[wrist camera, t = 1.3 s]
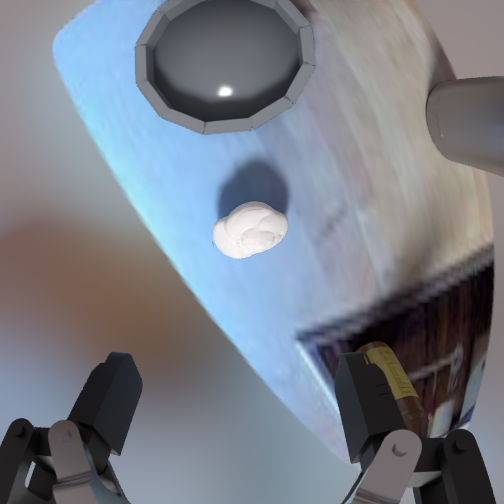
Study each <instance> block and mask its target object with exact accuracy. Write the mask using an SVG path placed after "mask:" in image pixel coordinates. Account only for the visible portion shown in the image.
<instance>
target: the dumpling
mask: <svg viewBox="0 0 504 504" xmlns="http://www.w3.org/2000/svg"><path fill="white" fill-rule="evenodd" d="M287 229H288V219H287V217H286V216H285V215H284V214H282V213H280V212H278V211H276V210H274V209H273V208H272V207H271V206H269V205H267V204H265V203H263V202H258V201H252V202H247V203H244V204H241V205H239V206H238V207H236V208H235V209H234V210H233V211H232V212H231V213H230V214H229V215H228V216H225V217H222V218H221V219H219V220H218V221H217V222H216V223H215V225H214V228H213V238H214V241H215V243H216V245H217V247H218V248H219V249H220V250H221V251H222V252H223V253H224V254H226V255H227V256H230V257H233V258H238V259H240V258H244V257H249V256H251V255H253V254H255V253H258V252H259V253H260V252H263V251H264V250H267V249H269V248H272V247H273V246H275V245H276V244H277V243H279V241H280V240H282V238H283V237H284V235H285V234H286V232H287ZM212 243H213V242H212ZM213 246H214V243H213ZM239 269H240V268H239Z"/></svg>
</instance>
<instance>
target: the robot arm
mask: <svg viewBox="0 0 504 504" xmlns="http://www.w3.org/2000/svg"><path fill="white" fill-rule="evenodd" d="M426 116H427V124H428V128H429V132H430V135H431V137H432V140H433V142H434V144H435V145H436V147H437V148H438V150H439V151H440V152H441V153H442V154H443V155H444V156H445V157H446V158H448V159H449V160H451V161H454V162H457V163H461V164H464V165H468V166H471V167H474V168H477V169H480V170H484V171H487V172H490V173H493V174H496V175H499V176H502V177H504V76H493V77H481V78H480V77H479V78H468V79H459V80H451V81H445V82H442V83H440V84H438V85H437V86H435V88H434V89H433V90H432V91H431V94H430V96H429V98H428V103H427V113H426ZM141 392H142V379H141V377H140V374H139V372H138V370H137V367H136V365H135V363H134V361H133V358H132V356H131V355H130V354H128V353H119V352H111V353H110V354H109V356H108V358H107V360H106V361H105V363H100V364H99V365H98V366H97V367H96V368H95V369H94V370H93V371H92V372H91V374H90V376H89V378H88V380H87V382H86V383H85V385H84V387H83V390H82V391H81V393H80V395H79V397H78V399H77V401H76V403H75V405H74V407H73V409H72V411H71V413H70V415H69V417H68V418H67V420H60V421H58V422H56V423H54V424H53V425H52V427H51V428H41V427H34V426H33V425H32V424H31V423H30V422H29V421H28V420H26V419H24V418H20V419H16V420H15V421H13V422H12V423H11V425H10V426H9V429H8V430H7V433H6V435H5V437H4V439H3V441H2V444H1V446H0V504H131V503H130V502H129V501H128V499H127V498H126V496H125V494H124V492H123V490H122V488H121V486H120V484H119V481H118V479H117V477H116V475H115V473H114V470H113V468H112V465H111V463H110V461H109V460H108V458H109V455H110V453H111V454H114V455H118V456H120V455H121V451H122V448H123V445H124V442H125V439H126V436H127V433H128V430H129V427H130V424H131V421H132V418H133V415H134V412H135V409H136V407H137V404H138V401H139V398H140V395H141ZM335 394H336V399H337V403H338V407H339V411H340V416H341V420H342V424H343V429H344V433H345V438H346V442H347V447H348V452H349V456H350V461H351V464H353V463H358V462H360V464H361V469H362V470H361V471H360V473H359V475H358V477H357V478H356V480H355V481H354V483H353V485H352V486H351V488H350V489H349V491H348V493H347V494H346V496H345V497H344V499H343V500H342V502H341V503H340V504H399V503H400V500H401V498H402V496H403V494H404V492H405V490H406V487H413V492H414V497H415V502H416V504H496V501H495V497H494V494H493V490H492V487H491V483H490V480H489V476H488V473H487V470H486V467H485V464H484V461H483V458H482V456H481V453H480V450H479V447H478V445H477V442H476V440H475V437H474V436H473V434H472V433H471V432H469V431H467V430H465V429H456V430H453V431H451V432H450V433H449V434H448V435H447V436H446V437H445V438H421V437H418V436H417V435H416V434H415V433H413V432H412V431H409V430H408V429H407V427H406V425H405V423H404V420H403V417H402V415H401V412H400V410H399V407H398V405H397V402H396V400H395V397H394V395H393V394H392V390H391V387H390V385H389V384H388V380H387V378H386V375H385V373H384V371H383V370H382V369H381V368H380V367H379V366H377V365H376V364H375V363H371V364H367V362H366V360H365V357H364V355H363V353H362V352H361V351H359V352H351V353H342V354H341V356H340V360H339V364H338V369H337V373H336V377H335ZM32 461H33V462H34V463H35V464H36V465H35V468H34V471H33V473H32V476H31V480H30V482H29V486H28V488H26V486H25V480H26V477H27V474H28V471H29V468H30V465H31V463H32Z"/></svg>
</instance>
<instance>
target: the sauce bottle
mask: <svg viewBox="0 0 504 504" xmlns="http://www.w3.org/2000/svg"><path fill="white" fill-rule="evenodd" d="M359 351H361V352H362V353H363V355H364V357H365V360H366V362H367V364H371V363H375V364H376V365H377V366H379V367H380V368H381V369H382V370H383V371H384V373H385V375H386V378H387V380H388V384H389V385H390V387H391V390H392V394H393V395H394V397H395V400H396V402H397V405H398V407H399V410H400V412H401V415H402V417H403V420H404V423H405V425H406V427H407V429H408V430H409V431H412V432H413V433H415V434H416V435H417V436H418V437H421V438H426V437H427V430H428V422H429V419H428V416H427V414H426V412H425V410H424V408H423V407H422V405H421V403H420V399H419V397H418V395H417V393H416V391H415V390H414V388H413V386H412V384H411V382H410V381H409V379H408V377H407V375H406V373H405V372H404V370H403V368H402V366H401V365H400V363H399V361H398V359H397V358H396V356H395V354H394V352H393V351H392V350H391V349H390V347H389V346H388V345H387V344H385V343H383V342H380V341H374V342H371V343H368V344H365V345H363V346H362V347H360V348H359V349H358V350H356V351H355V352H359ZM406 488H407V487H406Z"/></svg>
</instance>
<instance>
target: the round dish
mask: <svg viewBox="0 0 504 504" xmlns="http://www.w3.org/2000/svg"><path fill="white" fill-rule="evenodd" d="M157 9H158V10H159V11H158V10H155V12H154V13H153V15H152V16H151V18H150V20H149V21H148V23H147V25H146V26H145V28H144V30H143V31H142V33H141V35H140V37H139V38H138V40H137V42H136V45H137V46H135V77H136V84H138V85H137V87H138V88H139V90H140V91H141V93H142V94H143V95H144V97H145V98H146V99H147V101H148V102H149V103H150V105H151V106H152V107H153V109H154V110H155V111H156V113H157V114H158V115H159V117H162V119H165V120H167V121H170V122H172V123H175V124H177V125H180V126H182V127H185V128H187V129H190V130H192V131H195V132H197V133H200V134H204V135H209V134H219V133H230V132H241V131H252V128H253V129H254V130H255V129H256V128H258V127H259V126H261V125H263V124H264V123H266V122H267V121H269V120H271V119H272V118H274V117H276V116H277V115H279V114H281V113H282V112H284V111H286V110H287V109H289V108H291V107H292V106H294V104H296V102H297V100H298V98H299V96H300V94H301V93H302V91H303V89H304V87H305V85H306V83H307V82H308V80H309V78H310V76H311V74H312V73H313V71H314V69H315V67H314V66H315V65H316V60H315V51H314V42H313V34H312V27H311V26H310V25H311V24H310V23H309V22H308V21H307V20H306V18H305V17H304V16H303V15H302V14H301V13H300V11H299V10H298V9H297V8H296V7H295V6H294V5H293V4H292V2H291V1H290V0H169V1H167V2H166V3H164V4H163V5H161V6H160V7H158V8H157Z"/></svg>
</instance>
